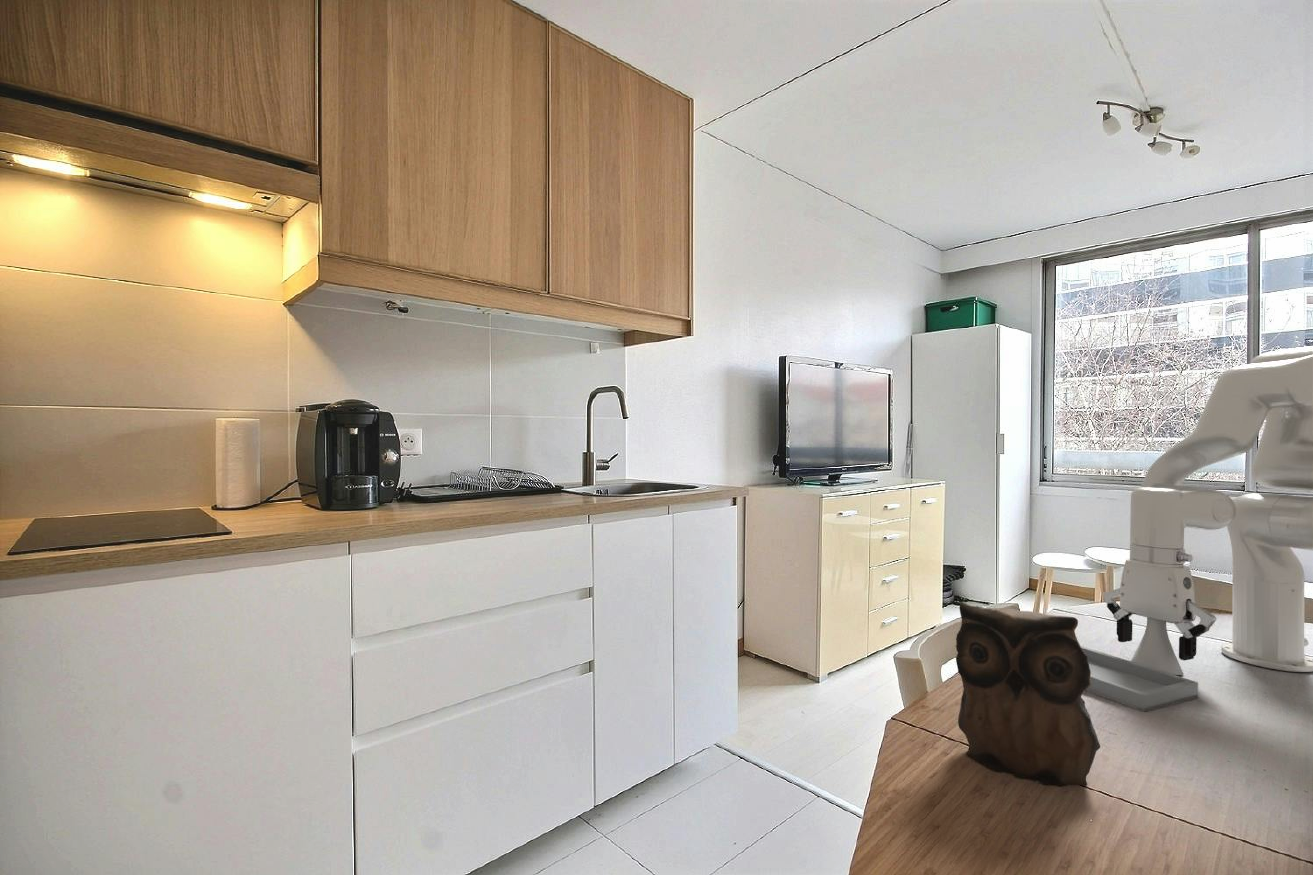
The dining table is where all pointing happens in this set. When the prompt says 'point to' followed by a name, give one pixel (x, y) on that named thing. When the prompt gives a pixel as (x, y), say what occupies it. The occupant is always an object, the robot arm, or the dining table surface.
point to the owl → (1025, 695)
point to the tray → (1136, 683)
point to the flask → (1157, 649)
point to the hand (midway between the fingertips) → (1154, 649)
